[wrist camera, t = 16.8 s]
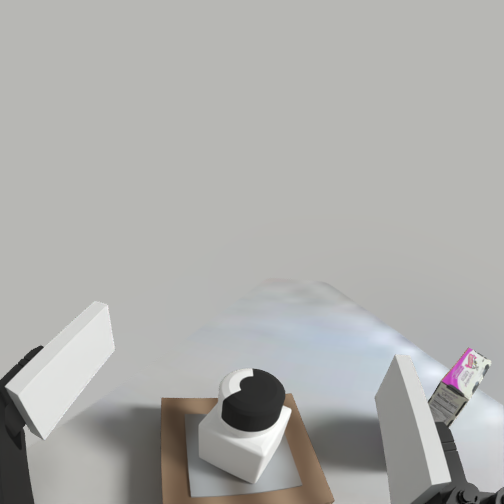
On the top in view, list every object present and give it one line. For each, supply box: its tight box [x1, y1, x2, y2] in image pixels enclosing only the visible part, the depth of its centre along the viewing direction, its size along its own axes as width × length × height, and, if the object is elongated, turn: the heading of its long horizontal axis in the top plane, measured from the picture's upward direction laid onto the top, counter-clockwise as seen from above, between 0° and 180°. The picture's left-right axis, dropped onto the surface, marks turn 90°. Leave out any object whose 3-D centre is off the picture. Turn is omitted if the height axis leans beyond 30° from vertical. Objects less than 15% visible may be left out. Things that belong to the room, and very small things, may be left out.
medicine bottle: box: [199, 368, 291, 484], centre depth 28 cm, size 7×7×12 cm
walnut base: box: [161, 393, 335, 504], centre depth 31 cm, size 18×18×5 cm
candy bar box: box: [428, 348, 491, 428], centre depth 32 cm, size 11×5×16 cm, turn 123°
